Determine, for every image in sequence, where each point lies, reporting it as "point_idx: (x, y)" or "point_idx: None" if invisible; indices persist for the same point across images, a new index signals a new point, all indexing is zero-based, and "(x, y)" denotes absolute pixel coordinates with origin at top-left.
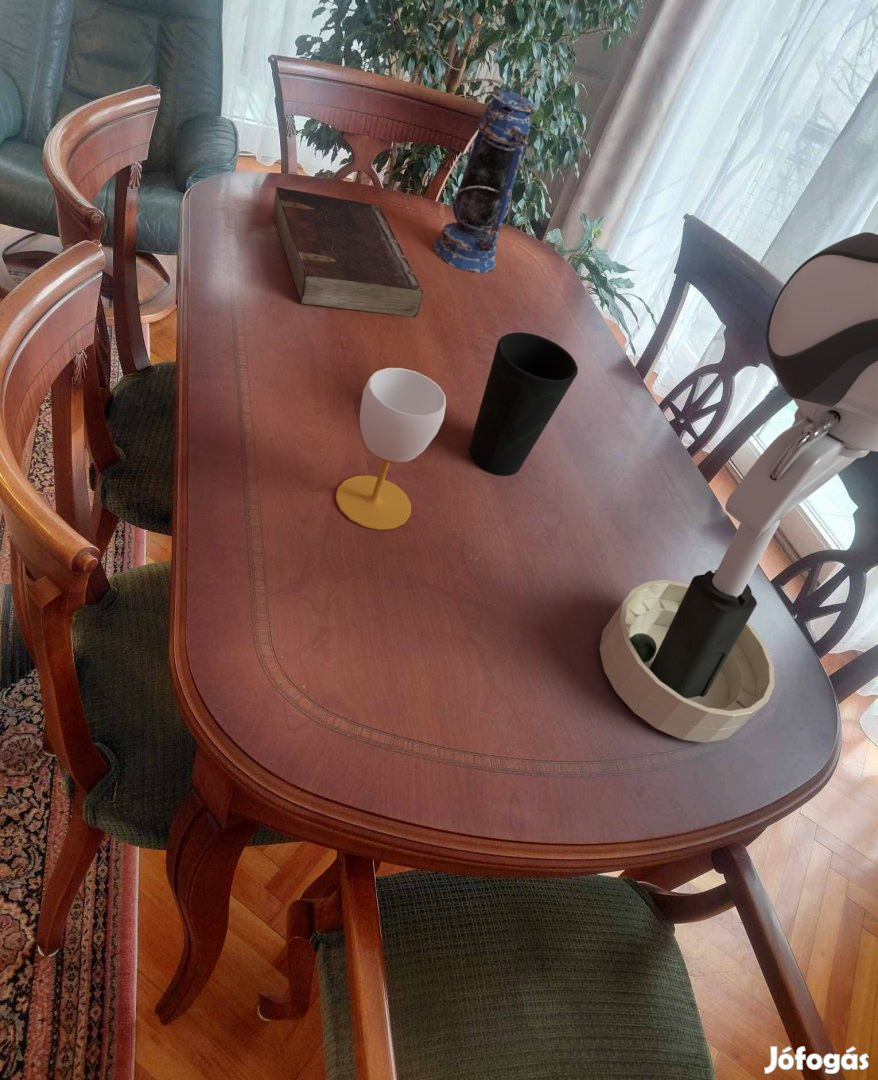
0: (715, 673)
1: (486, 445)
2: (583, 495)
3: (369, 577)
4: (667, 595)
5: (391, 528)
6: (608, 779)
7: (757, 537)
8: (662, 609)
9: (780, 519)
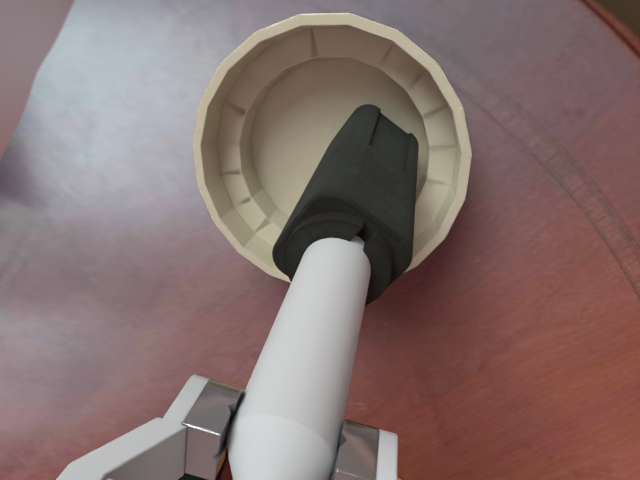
0: (373, 125)
1: (219, 477)
2: (149, 348)
3: (477, 468)
4: (245, 228)
5: (397, 477)
6: (582, 159)
7: (394, 445)
8: (269, 221)
9: (208, 386)
